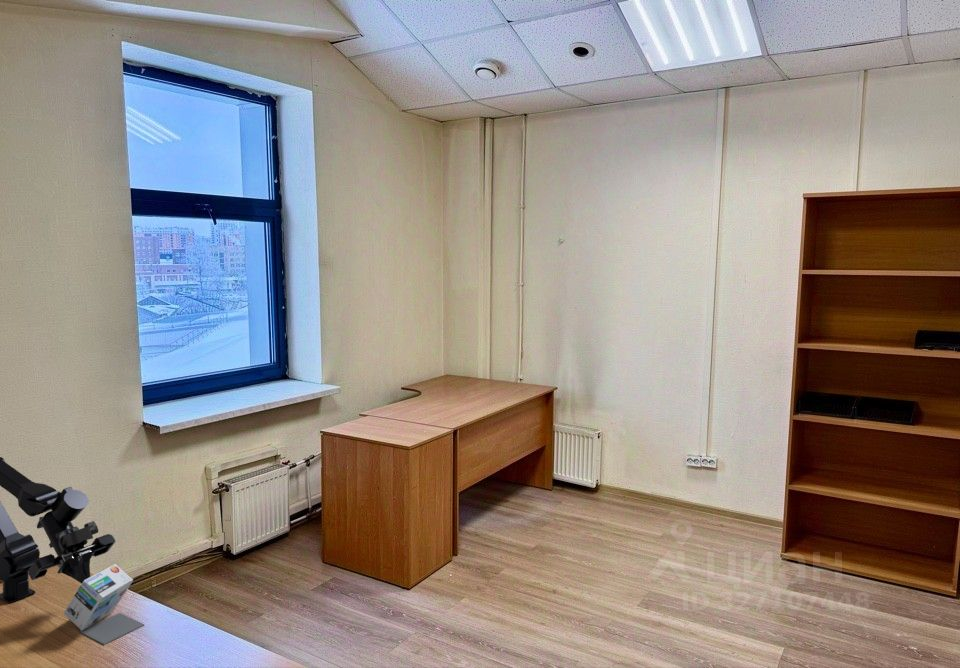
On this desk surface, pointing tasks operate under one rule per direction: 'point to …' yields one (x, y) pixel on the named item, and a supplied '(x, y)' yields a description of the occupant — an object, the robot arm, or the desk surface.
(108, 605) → the light bulb box
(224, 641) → the desk surface
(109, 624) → the rubber mat
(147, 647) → the desk surface
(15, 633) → the desk surface
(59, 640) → the desk surface
